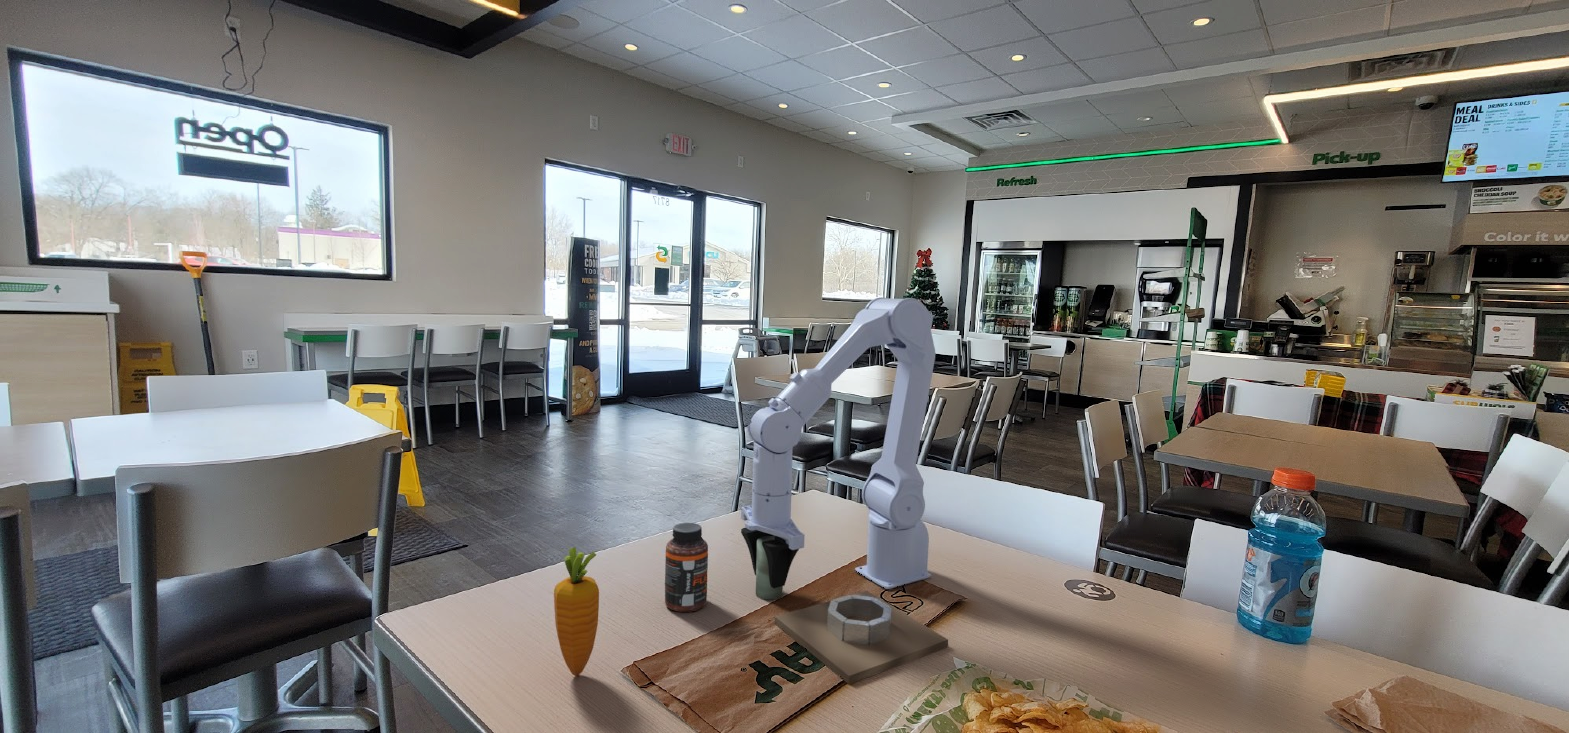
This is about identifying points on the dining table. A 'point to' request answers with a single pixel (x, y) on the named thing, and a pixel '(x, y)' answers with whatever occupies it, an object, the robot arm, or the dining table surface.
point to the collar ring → (854, 628)
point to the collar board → (859, 658)
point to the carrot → (576, 612)
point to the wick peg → (764, 574)
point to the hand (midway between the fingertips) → (769, 580)
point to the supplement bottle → (686, 568)
